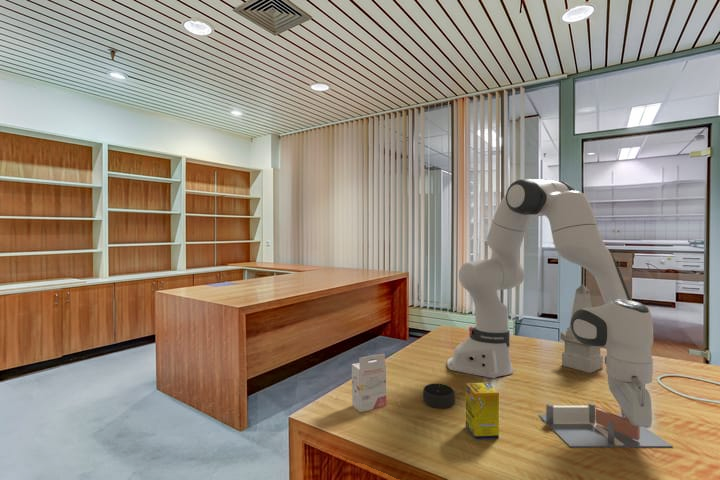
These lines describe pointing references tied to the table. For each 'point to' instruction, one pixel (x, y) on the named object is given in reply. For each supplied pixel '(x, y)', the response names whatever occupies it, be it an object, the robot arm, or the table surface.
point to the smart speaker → (438, 395)
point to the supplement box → (482, 410)
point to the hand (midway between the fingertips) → (627, 426)
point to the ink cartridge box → (369, 383)
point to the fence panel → (617, 423)
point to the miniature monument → (576, 351)
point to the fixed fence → (575, 416)
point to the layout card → (602, 436)
